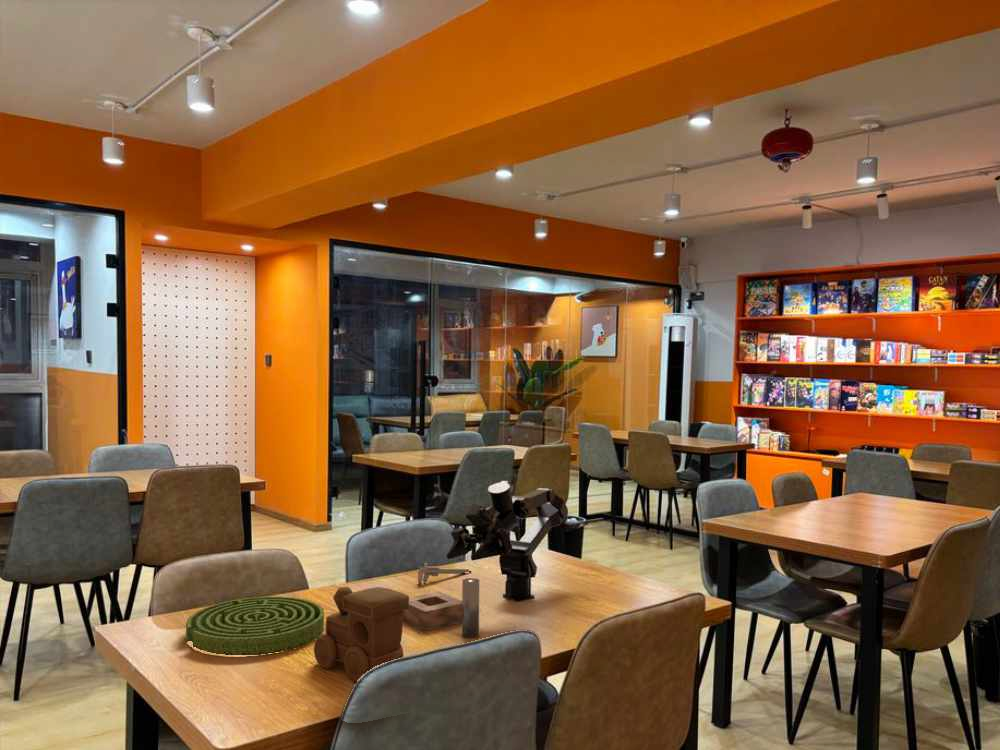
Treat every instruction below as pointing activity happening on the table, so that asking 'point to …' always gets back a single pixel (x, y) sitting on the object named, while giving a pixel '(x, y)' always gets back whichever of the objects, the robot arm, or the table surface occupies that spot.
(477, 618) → the steel pin
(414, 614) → the socket block
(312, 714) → the table surface
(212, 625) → the maze
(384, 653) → the wooden toy train
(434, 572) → the caliper
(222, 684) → the table surface
